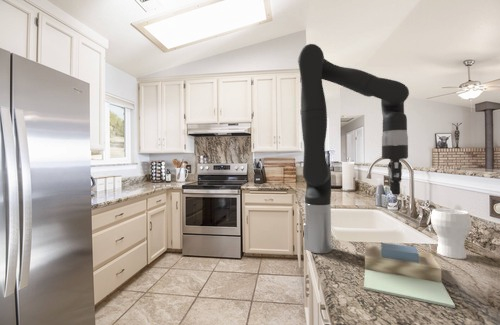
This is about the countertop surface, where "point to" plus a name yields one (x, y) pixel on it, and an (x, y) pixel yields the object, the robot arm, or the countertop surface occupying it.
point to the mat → (407, 287)
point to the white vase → (451, 231)
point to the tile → (399, 252)
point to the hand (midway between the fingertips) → (394, 192)
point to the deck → (403, 265)
